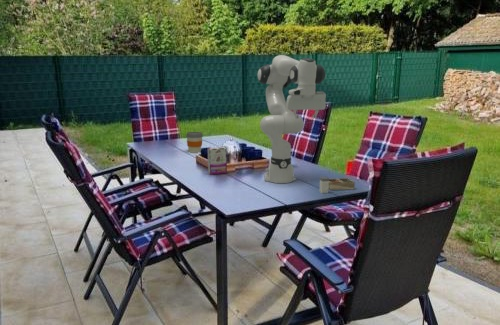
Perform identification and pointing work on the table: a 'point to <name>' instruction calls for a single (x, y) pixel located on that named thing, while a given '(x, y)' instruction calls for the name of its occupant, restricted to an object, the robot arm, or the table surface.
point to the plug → (324, 184)
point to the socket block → (341, 184)
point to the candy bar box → (217, 160)
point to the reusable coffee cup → (194, 141)
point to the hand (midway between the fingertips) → (305, 118)
